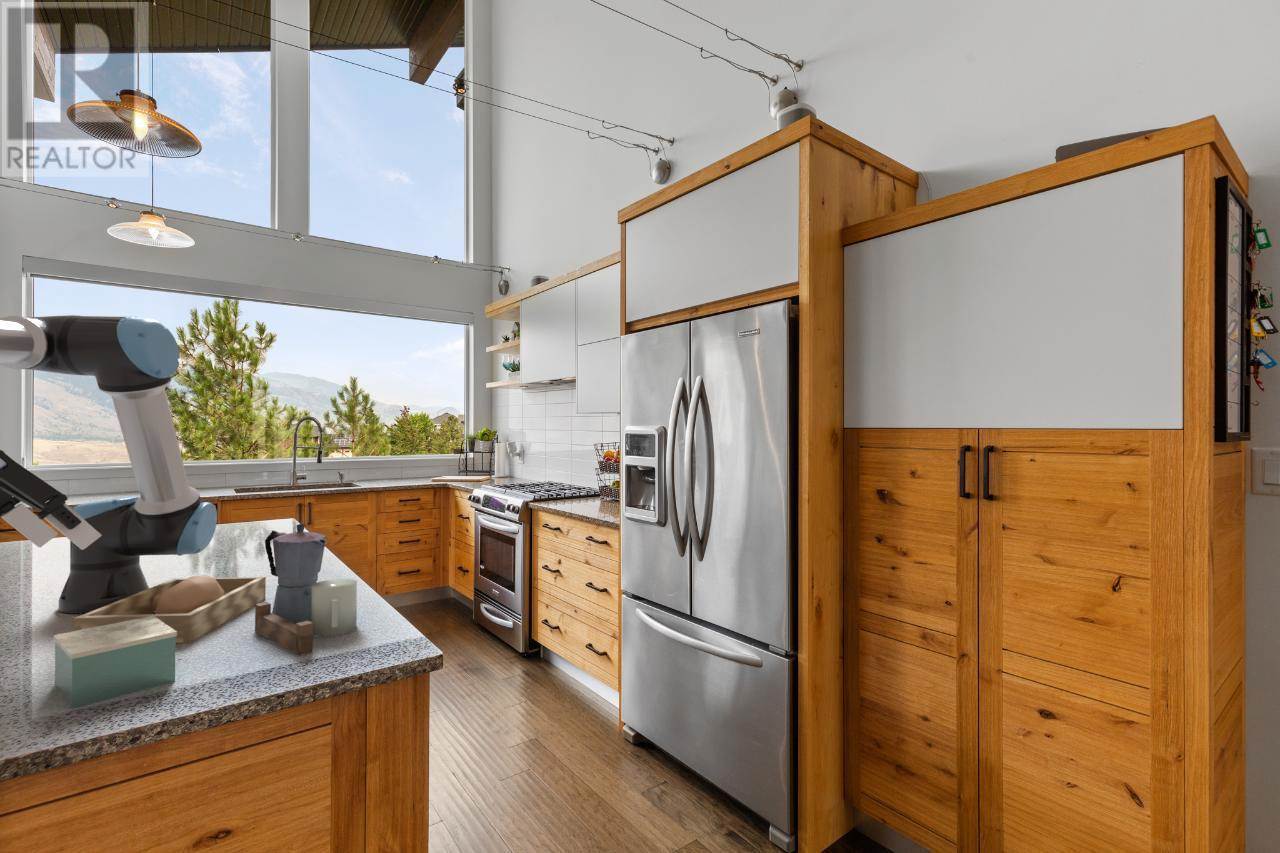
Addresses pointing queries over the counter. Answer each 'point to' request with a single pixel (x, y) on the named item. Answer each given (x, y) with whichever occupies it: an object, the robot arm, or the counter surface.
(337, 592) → the sage mug
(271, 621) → the walnut stop rail
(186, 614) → the pine crate
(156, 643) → the green tea tin
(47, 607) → the counter surface
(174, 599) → the squash
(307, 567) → the moka pot
